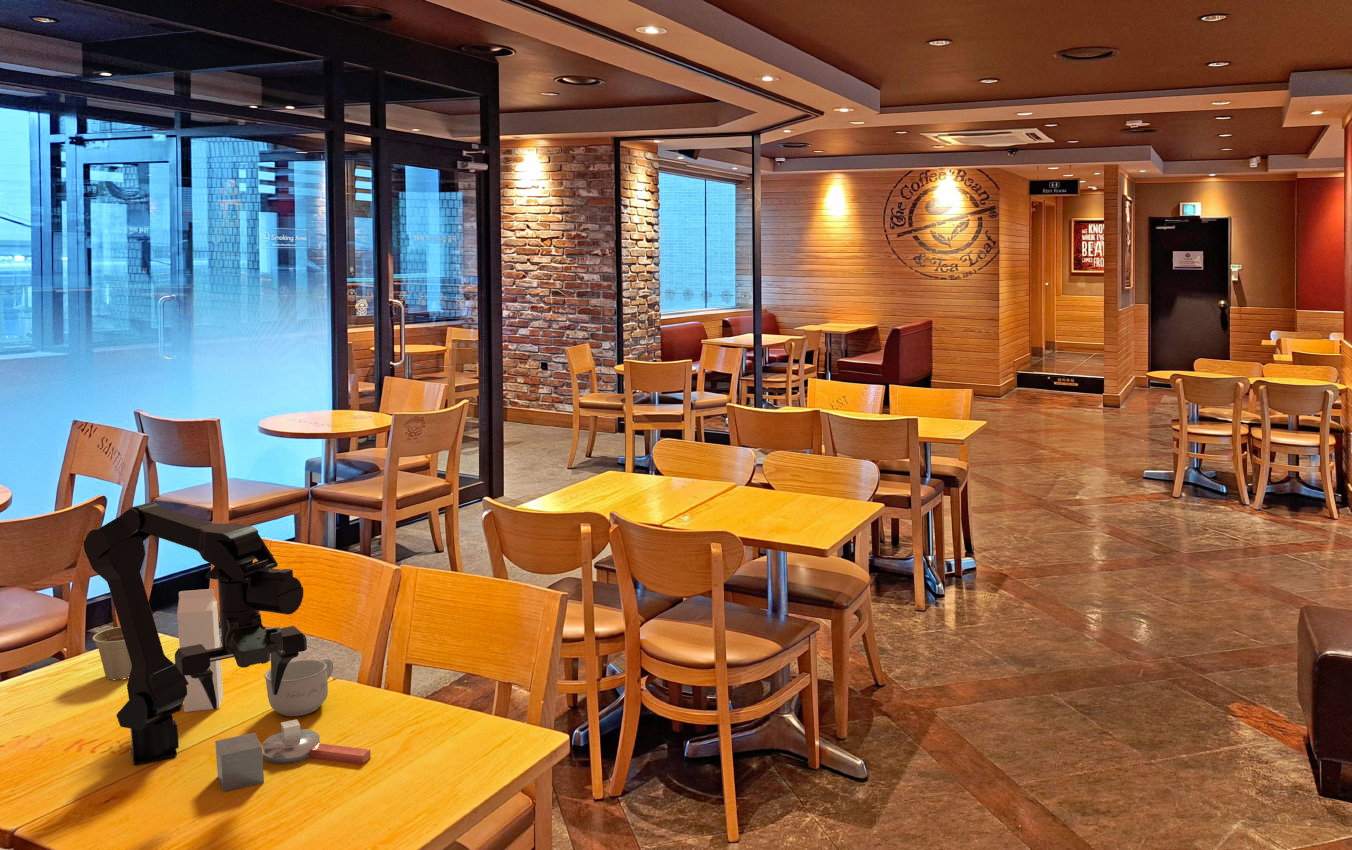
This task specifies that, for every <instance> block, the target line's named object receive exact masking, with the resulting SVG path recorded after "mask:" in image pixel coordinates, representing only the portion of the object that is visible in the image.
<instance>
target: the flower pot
mask: <svg viewBox="0 0 1352 850" xmlns="http://www.w3.org/2000/svg"><path fill="white" fill-rule="evenodd" d="M92 641H93V642H95V646H96V648H98V653H99V656H100V660H101V664H102V667H103V671H104V676H105V678H106V677H107V678H108V679H107V678H106V679H107V680H109V679H116V680H122V679H123V678H128V677H129V676H130V672H131V668H132V664H131V661H130V657H129V654H128V650H127V647H126V644H125V640H124V637H123V633H122V630H121V626H118V627H117V626H116V627H113V628H112V627H111V628H108V629H105V630H104V629H103V630H102V631H99V632H96V634H94V635H93V636H92Z"/></svg>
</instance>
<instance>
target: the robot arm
mask: <svg viewBox="0 0 1352 850" xmlns="http://www.w3.org/2000/svg"><path fill="white" fill-rule="evenodd" d="M151 536H153V537H156V538H159V539H161V540H165V541H168V542H170V543H173V544H177V545H180V546H183V547H186V548H189V549H192V550H194V551H196V552H198V553H199V555H200V556H201V559H203V561H205V562H207V563H209V564H210V565H212V566H213V568H212V569H210V570H209V571H208V573H206V575H205V577H206V579H210V580H217V590H218V605H219V607H218V608H219V611H218V618H219V619H220V622H219V623H220V633H221V634H220V644H221V646H220V647H219V648H214V649H209V650H206V649H205V648H204V646H203V645H202V644H198V645H193V646H188V647H183V648H180V647H179V648H177V649H176V651H175V652H174V662H173V661H172V660H170V659H169V658H168V657H167V656H166V655H165V653H164V650H163V646H162V642H161V638H160V636H159V632H158V628H157V626H156V621H155V618H154V615H153V611H152V608H151V605H150V601H149V598H148V597H149V596H148V594H147V591H146V588H145V584H144V581H143V578H142V568H143V564H144V561H145V557H146V549H145V543H144V542H145V541H146V540H148V539H149V538H150V537H151ZM83 550H84V553H85V555H86V557H87V561H88V562H89V564H90V566H91V569H92V570H93V571H94V572H95V573H96V574H97V575H98V576H99V577H101V578H102V579H103V580H105V582H106V583H107V585H108V590H109V591H110V595H111V599H112V602H113V606H114V608H115V609H114V610H115V612H116V616H117V619H118V622H119V627H121V630H122V633H123V637H124V640H125V644H126V647H127V650H128V654H129V657H130V661H131V664H132V668H131V672H130V676H129V679H127V683H126V689H127V690H126V691H127V695H128V701H127V702H126V703H125V704H124V705H123V706H122V708H121V709H119V711H118V712H117V713H116V719H117V721H118V724H119V727H121V728H126V729H130V740H131V747H130V752H131V758H132V759H131V760H132V763H133V765H135V766H137V765H142V764H146V763H151V762H156V761H159V760H160V761H161V760H165V759H168V758H169V759H170V758H174V757H176V756H177V755H178V752H177V750H178V749H179V746H180V745H179V732H178V731H179V730H178V724H177V720H176V719H174V717H173V715H174V714H176V713H180V712H182V709H183V706H184V699H185V696H187V686H186V685H188V684H189V683H188V682H187V680H186V678H185V675H186V676H188V675H190V676H191V678H194V679H196V678H198V679H199V680H200V682H201V684H202V686H203V688H204V690H205V692H206V694H207V696H208V699H209V701H210V703H211V705H212V707H213V709H212V710H217V700H216V695H215V689H214V684H213V672H212V671H211V670H210V668H209V667H210V662H213V661H217V660H221V661H223V660H227V659H231V658H234V659H235V662H236V665H237V667H239V668H243V669H245V668H249V667H250V666H254V665H259V664H262V665H264V664H267V663H269V662H270V669H271V685H272V692H273V694H274V695H277V693H278V690H279V687H280V684H281V681H282V677H283V674H284V671H285V669H286V667H287V665H288V663H289V662H292V661H293V659H294V658H297V657H298V656H299V655H300V654H299V653H300V652H302V653H303V652H306V651H307V649H308V645H307V644H308V643H307V637H306V635H305V634H304V633H303V632H302V631H301V630H300V629H299V628H297V627H296V626H294V625H291V626H285V627H282V628H281V627H280V626H275V627H271V628H264V625H263V621H262V616H261V614H260V612H267V613H273V614H282V615H292V614H294V613H296V611H298V609H299V608H300V606H301V604H302V603H303V599H304V587H303V586H302V583H301V581H300V580H299V579H298V578H297V577H295V576H294V572H293V570H292V568H291V569H290V568H284V569H283V568H282V569H281V568H280V569H279V568H277V567H278V565H279V564H278V562H277V561H276V559H275V558H274V555H273V554H272V552H271V551H270V550H269V548H268V547H267V545H266V543H265V542H264V539H262V537H261V535H260V534H259V530H258V529H257V528H255V527H254V526H252V525H250V524H241V523H233V522H232V523H213V522H209V521H206V520H203V519H200V518H198V517H194V516H191V515H187V514H184V513H182V512H179V511H176V510H173V509H169V508H166V507H164V506H161V504H159V503H157V502H146V503H143V504H139V505H135V506H132V507H130V508H128V509H127V510H125V512H123V513H122V514H120V515H119V516H118V517H115V518H114V519H113V520H111V521H110V522H109V521H108V523H106V524H104V525H102V526H101V527H97V528H94V529H92V530H90V531H89V532H88V533H87V534H86V537H85V539H84V540H83ZM255 560H256V561H255ZM252 561H254V562H252ZM249 562H252V563H249ZM246 563H248V564H246ZM243 564H246V565H243ZM240 565H243V566H240Z"/></svg>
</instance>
